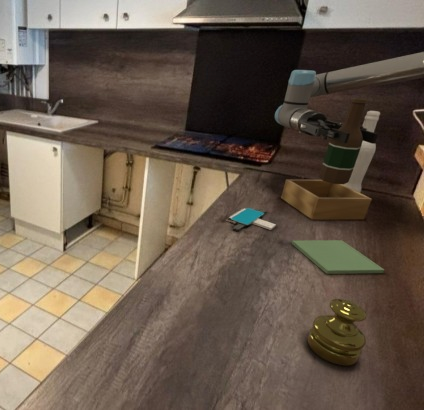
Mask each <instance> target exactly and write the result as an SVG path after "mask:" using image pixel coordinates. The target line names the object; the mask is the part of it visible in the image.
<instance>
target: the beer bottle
mask: <svg viewBox="0 0 424 410" xmlns="http://www.w3.org/2000/svg"><path fill="white" fill-rule="evenodd" d="M350 103H351V104H350V106H349V107H348V108H349V109H348V111H347V114H346V116H345V119H344V121H343V125H342V127H340V128H339V129H338V130H341V131H344V132H347V133H350V135H349V138H348V141H347V143H343V142H340V141H337V140H334V139H331V138H329V139H330V140H329V142H328V145H327V149H326V151H325V154H324V158H323V161H322V165H321V168H320V170H319V176H318V177H319V180H323V181H325V182H329V183H333V184H346V183H348V182H349V179H350V177H351V174H352V172H353V169H354V166H355V163H356V160H357V157H358V154H359V152H360V149H361V145H362V141H363V137H362V133H361V130H360V126H361V123H362V119H363V115H364V111H365V107H366V104H368V99H367V98H364V97H353V98H352V99H351V100H350Z"/></svg>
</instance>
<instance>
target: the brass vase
mask: <svg viewBox="0 0 424 410" xmlns="http://www.w3.org/2000/svg"><path fill="white" fill-rule="evenodd" d="M329 308H330V310H331V311H332V312H333V313H334V314H323V315H322V314H321V315H319V316H317V317H315V318H314V320H313V322H312V327H311V328H310V329H309V333H308V337H307V344H308V346H309V347H310V349H311V350H312V351H313V352H314V353H315V354H316V355H318V357H320V358H322V359H323V360H324V361H327V362H329V363H331V364H335V365H338V366H352V365H354V364H356V363H357V361H358V360H359V357H360V355H362V349H363V348H364V347H365V345H366V336H365V334H364V332H363V331H362V330H361V329H360V328H359V327H358V326H357V325H356V324H355V323H356V322H363V321H365V320H366V319H367V316H368V315H367V314H368V313H367V312H366V310H365V309H364V308H363V307H362V306H360V305H359V304H358V303H355V302H354V301H352V300H349V299H346V298H345V299H344V298H334V299H331V300H330V302H329Z"/></svg>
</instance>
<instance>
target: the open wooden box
mask: <svg viewBox="0 0 424 410" xmlns="http://www.w3.org/2000/svg"><path fill="white" fill-rule="evenodd" d="M280 198H281V200H283V201H284V202H286V203H287V204H289V205H290V206H291V207H293V208H294V209H296V210H297V211H299V212H300V213H302V214H303V215H304V216H306V217H307V218H309V219H310V220H365V217H366V216H367V213H368V210H369V207H370V205H371V202H372V200H373V199H372V198H371V197H369V196H367V195H365V194H363V193H361V192H360V193H359V192H357V191H355V190H353V189H351V188H349V187H347V186H345V185H343V184H333V183H329V182H325V181H323V180H321V179H291V178H290V179H288V178H286V179H285V181H284V185H283V189H282V193H281V197H280Z"/></svg>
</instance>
